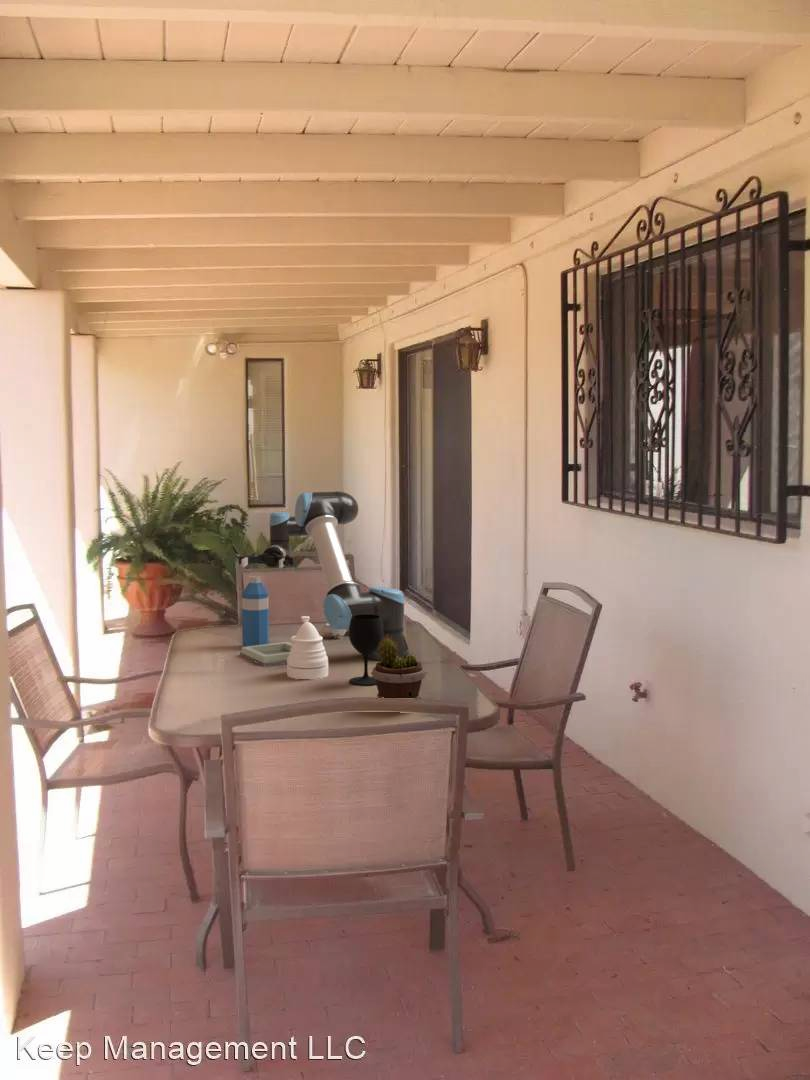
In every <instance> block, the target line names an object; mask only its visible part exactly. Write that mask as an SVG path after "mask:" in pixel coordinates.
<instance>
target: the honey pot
mask: <svg viewBox="0 0 810 1080" xmlns="http://www.w3.org/2000/svg"><path fill="white" fill-rule="evenodd" d="M300 620H301V621H302V625H300V627H299V629H298V630H297V631H296V635H292V636H291V637H290V641H291V643H292V647H291V648H290V652H289V656H288V658H287V664H286V676H287V675H288V676H289V677H292V678H297V679H315V680H317V679H316V678H321V679H324V678H323V677H325V678H327V677H328V676H329V657H328V655H327V652H326V647H325V646H324V643H323V640H324V638H323V636H321V635H320V634H319V631H318V630H317V628H316V627H315V626H314V624H312V623H311V622H309V621H310V616H309V615H307V616H304V615H303V616H301V619H300ZM288 676H287V677H288ZM326 676H327V677H326ZM289 677H288V678H289ZM292 678H291V679H292ZM297 679H296V680H297Z"/></svg>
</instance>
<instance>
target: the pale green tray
mask: <svg viewBox="0 0 810 1080" xmlns="http://www.w3.org/2000/svg"><path fill="white" fill-rule="evenodd" d="M292 644H293V642H289V641H282V642H274V643H269V644H263V645H255V646H247V647H243V646H242V647H241V651H239V656H241V655H242V656H241V657H243V656H244V657H243V658H245V657H246V659H247V658H249V659H248V660H250V659H251V660H250V661H252V660H253V662H254V661H256V662H258V663H260V664H259V665H261V664H262V665H261V666H263V665H265V666H266V667H270V666H269V665H274V666H276V665H275V664H282V663H287V658H288V656H289V652H290V648H291V647H292ZM256 662H255V663H256ZM258 663H257V664H258ZM282 665H283V664H282ZM265 666H264V667H265Z"/></svg>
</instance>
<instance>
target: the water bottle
mask: <svg viewBox="0 0 810 1080" xmlns="http://www.w3.org/2000/svg"><path fill="white" fill-rule="evenodd" d="M241 615H242V616H241V619H242V621H241V622H242V623H241V626H242V627H241V628H242V629H241V630H242V631H241V633H242V647H247V646H255V645H263V644H270V643H269V641H270V634H269V633H270V632H269V631H270V629H269V627H270V626H269V623H270V622H269V617H270V616H269V591H268V589H267V588H266V587H265V586H264V584H263V583H262V577H261V576H260V575H251V576H248V583H247V585H246V586H245V588H244V590H243V591H242V593H241Z"/></svg>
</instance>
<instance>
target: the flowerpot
mask: <svg viewBox="0 0 810 1080" xmlns="http://www.w3.org/2000/svg"><path fill="white" fill-rule="evenodd" d="M383 637H384V636H383ZM387 637H388V636H387ZM384 638H386V637H384ZM393 640H394V639H393ZM396 643H397V642H396V641H395V643H394V641H392V639H390V638H388V639H387V638H386V639H384V641H383V642H381V643H380V644H381V647H380V646H378V647H379V648H380V649H379V650H380V652H379V655H381V656H380V657H381V658H382V659H381V660H380V661H378V662H376V664H375V666H374V667H373V668H372V671H371V672H370V674H371V675H372V676H371V677H373V678H374V679H376V684H377V685H376V688H377V691H378V692H377V694H376V698H377V697H378V698H382V697H384V698H414V699H420V700H421V693H420V689H421V685H422V682H423V681H422V680H424V679H425V678H426V674H427V673H428V672H427V671H426V669H425V667H423V666H422V662H421V661H417V657H416V656H415V655H414V653H410V652H409V653H408V651H407V653H408V654H405V656H403V657H402V658H399V657H398V656H399V655H396V653H397V650H398V649H397V647H398V646H397V645H398V644H396ZM395 644H396V645H395ZM396 646H397V647H396ZM398 648H399V647H398ZM377 651H378V650H377ZM398 652H399V651H398ZM380 657H379V658H380ZM396 657H398V658H399V659H398V658H396Z"/></svg>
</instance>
